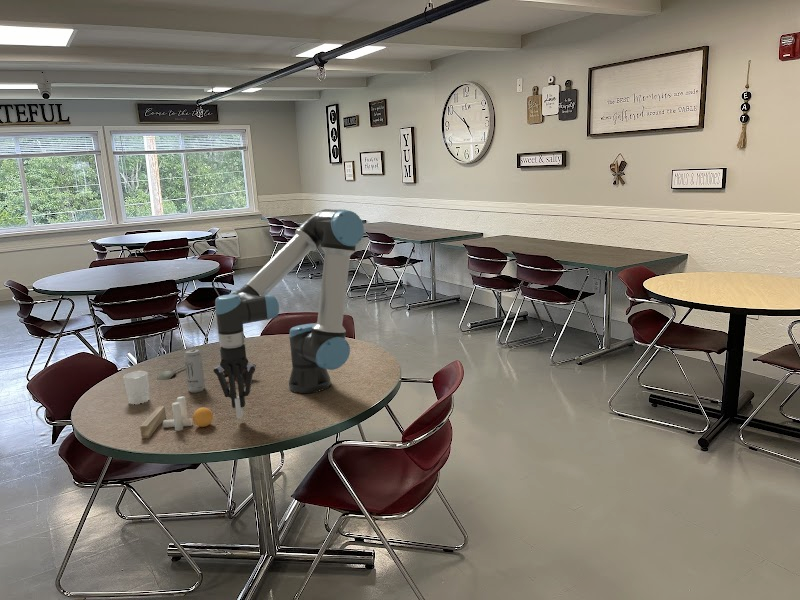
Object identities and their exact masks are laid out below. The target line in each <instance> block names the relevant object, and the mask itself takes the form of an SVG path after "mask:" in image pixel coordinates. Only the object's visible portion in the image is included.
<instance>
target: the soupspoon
mask: <svg viewBox="0 0 800 600" xmlns="http://www.w3.org/2000/svg"><path fill="white" fill-rule="evenodd" d="M183 368H185V365H183V366H180V367H178V368H176V369H174V370H170V369H169V370H165V371H162V372H161V373H160V374H159V375H157V380H160V381H166V380H167V381H168V380H170V379H171V378H172V377H173V376H174V375H175V374H176V372H177V371H179V370H181V369H183Z"/></svg>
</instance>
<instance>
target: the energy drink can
mask: <svg viewBox="0 0 800 600" xmlns="http://www.w3.org/2000/svg"><path fill="white" fill-rule="evenodd" d="M183 358H184V359H183V360H184V366H185V367H184V368H185V376H186V384H187V390H188V391H189V393H201V392H203V391H204V389H206V384H205V375H204V368H203V367H204V366H203V357H202V353H201V352H200V349H195V348H194V349H193V348H192V349H188V350H185V354H184V355H183Z"/></svg>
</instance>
